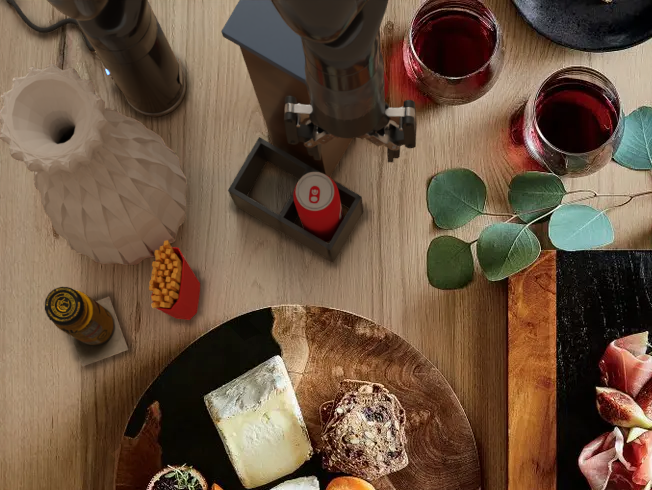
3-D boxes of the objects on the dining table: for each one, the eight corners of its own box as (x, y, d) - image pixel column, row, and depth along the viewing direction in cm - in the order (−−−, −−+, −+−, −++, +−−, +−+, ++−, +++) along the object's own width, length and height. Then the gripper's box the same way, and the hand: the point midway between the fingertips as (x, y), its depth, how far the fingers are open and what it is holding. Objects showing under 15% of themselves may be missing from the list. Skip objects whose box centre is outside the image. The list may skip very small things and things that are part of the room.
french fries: (174, 266, 122) (148, 236, 109) (203, 269, 122) (180, 240, 109) (167, 327, 122) (140, 305, 109) (196, 330, 122) (172, 308, 109)
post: (275, 151, 122) (234, 33, 92) (302, 105, 122) (271, -29, 92) (327, 182, 122) (303, 73, 92) (354, 135, 122) (340, 11, 92)
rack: (236, 206, 122) (227, 190, 116) (266, 155, 122) (259, 136, 116) (333, 263, 122) (330, 250, 116) (363, 212, 122) (362, 196, 116)
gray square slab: (222, 36, 92) (220, 31, 91) (267, -41, 92) (266, -47, 91) (307, 85, 92) (306, 80, 91) (352, 8, 92) (351, 2, 91)
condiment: (109, 296, 122) (78, 272, 110) (128, 350, 122) (99, 331, 110) (63, 313, 122) (27, 291, 110) (83, 366, 122) (48, 350, 110)
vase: (53, 263, 122) (-59, 181, 92) (85, 133, 122) (-17, 9, 92) (183, 295, 122) (113, 223, 92) (215, 164, 122) (156, 49, 92)
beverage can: (346, 204, 122) (340, 169, 110) (342, 245, 122) (335, 216, 110) (304, 200, 122) (294, 165, 110) (300, 241, 122) (289, 211, 110)
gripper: (420, 43, 80) (416, 123, 96) (274, 39, 80) (294, 119, 96) (417, 121, 80) (413, 187, 96) (271, 116, 80) (292, 183, 96)
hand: (354, 153), depth 96 cm, fingers open, 8 cm apart
